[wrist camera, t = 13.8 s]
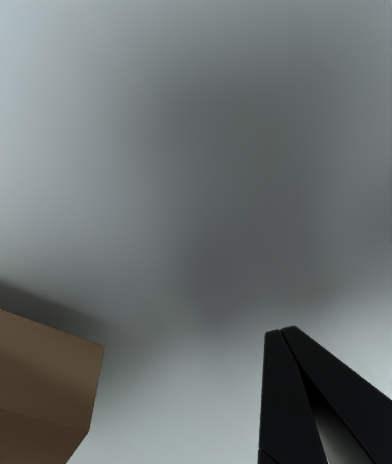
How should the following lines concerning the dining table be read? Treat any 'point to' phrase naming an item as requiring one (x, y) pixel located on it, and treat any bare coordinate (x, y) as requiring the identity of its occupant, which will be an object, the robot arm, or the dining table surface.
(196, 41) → the dining table surface
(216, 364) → the dining table surface
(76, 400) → the crank
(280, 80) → the dining table surface
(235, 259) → the dining table surface
